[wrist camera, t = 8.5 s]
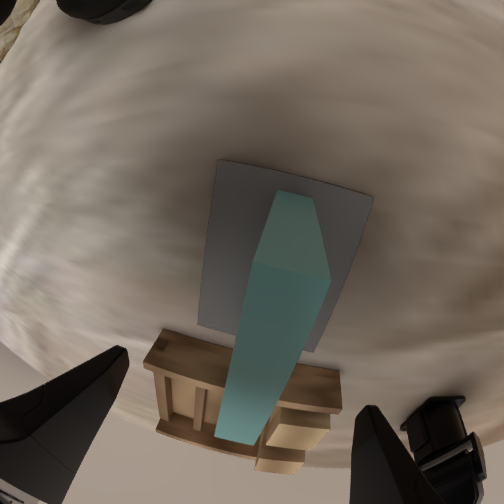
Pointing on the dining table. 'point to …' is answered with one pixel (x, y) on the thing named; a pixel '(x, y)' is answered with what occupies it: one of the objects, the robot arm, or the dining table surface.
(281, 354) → the teal flat slab
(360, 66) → the dining table surface
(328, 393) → the tray
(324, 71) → the dining table surface
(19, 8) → the stone
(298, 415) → the offcut
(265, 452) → the offcut
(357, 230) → the mat
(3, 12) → the headphones
